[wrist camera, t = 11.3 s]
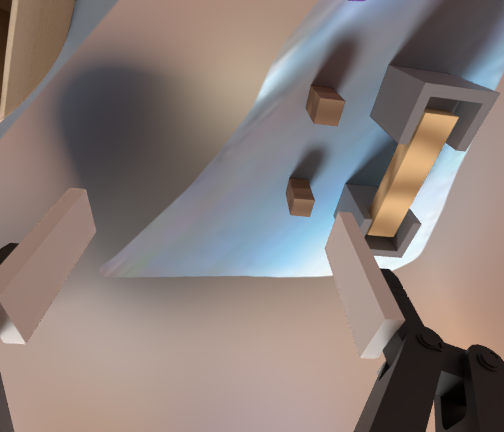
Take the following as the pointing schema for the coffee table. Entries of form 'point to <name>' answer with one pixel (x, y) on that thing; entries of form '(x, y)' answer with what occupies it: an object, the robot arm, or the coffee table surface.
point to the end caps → (402, 128)
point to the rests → (321, 112)
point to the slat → (409, 171)
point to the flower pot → (29, 45)
